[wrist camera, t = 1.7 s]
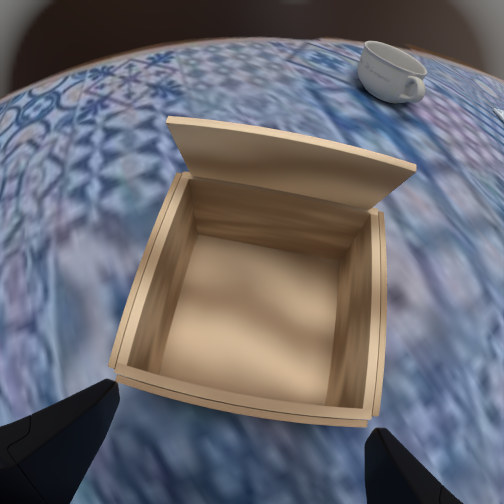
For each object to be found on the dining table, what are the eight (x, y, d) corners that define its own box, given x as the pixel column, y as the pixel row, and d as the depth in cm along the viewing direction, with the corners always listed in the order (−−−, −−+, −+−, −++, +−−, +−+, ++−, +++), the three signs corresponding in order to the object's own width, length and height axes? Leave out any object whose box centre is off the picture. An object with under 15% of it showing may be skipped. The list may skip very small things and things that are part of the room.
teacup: (346, 71, 45) (357, 34, 38) (400, 84, 46) (413, 50, 39) (366, 116, 39) (383, 71, 32) (427, 130, 39) (447, 91, 32)
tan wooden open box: (333, 422, 21) (377, 427, 14) (144, 387, 21) (105, 377, 14) (348, 260, 28) (383, 210, 20) (189, 230, 28) (177, 170, 21)
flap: (416, 171, 13) (416, 163, 13) (165, 122, 14) (168, 114, 14) (369, 209, 20) (369, 203, 20) (191, 175, 20) (193, 169, 21)
